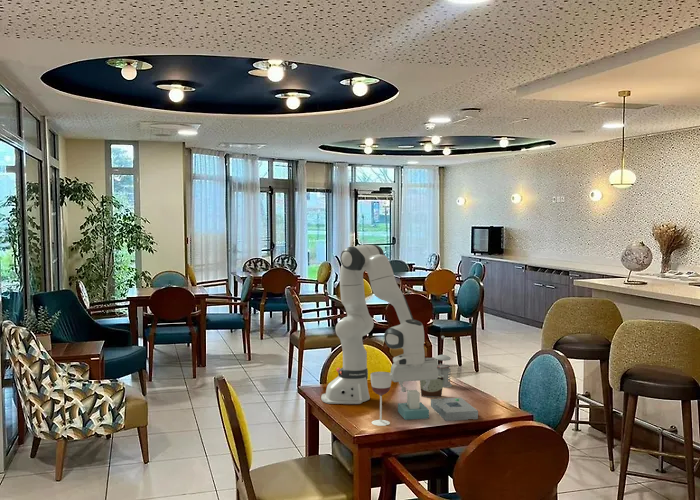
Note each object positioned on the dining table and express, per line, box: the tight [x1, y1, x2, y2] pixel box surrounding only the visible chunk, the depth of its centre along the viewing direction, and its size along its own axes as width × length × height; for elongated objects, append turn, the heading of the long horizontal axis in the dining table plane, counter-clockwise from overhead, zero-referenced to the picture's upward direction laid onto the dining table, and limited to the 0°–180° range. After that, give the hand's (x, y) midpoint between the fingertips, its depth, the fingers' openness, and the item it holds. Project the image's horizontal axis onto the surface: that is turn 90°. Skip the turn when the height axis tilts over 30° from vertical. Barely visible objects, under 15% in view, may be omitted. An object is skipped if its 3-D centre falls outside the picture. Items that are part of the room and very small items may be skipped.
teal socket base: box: [397, 401, 430, 420], centre depth 263 cm, size 10×11×4 cm
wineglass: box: [370, 371, 393, 427], centre depth 252 cm, size 8×9×20 cm
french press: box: [434, 335, 453, 389], centre depth 311 cm, size 10×12×25 cm
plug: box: [406, 389, 421, 409], centre depth 263 cm, size 4×5×10 cm
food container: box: [419, 374, 445, 398], centre depth 294 cm, size 12×6×10 cm, turn 84°
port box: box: [430, 397, 479, 422], centre depth 266 cm, size 14×20×4 cm
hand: (414, 390), depth 262 cm, fingers open, 8 cm apart
